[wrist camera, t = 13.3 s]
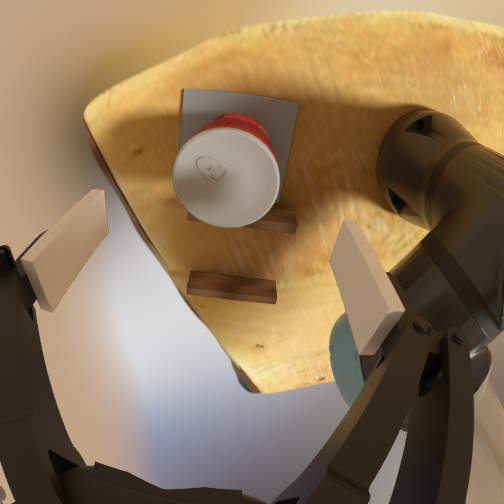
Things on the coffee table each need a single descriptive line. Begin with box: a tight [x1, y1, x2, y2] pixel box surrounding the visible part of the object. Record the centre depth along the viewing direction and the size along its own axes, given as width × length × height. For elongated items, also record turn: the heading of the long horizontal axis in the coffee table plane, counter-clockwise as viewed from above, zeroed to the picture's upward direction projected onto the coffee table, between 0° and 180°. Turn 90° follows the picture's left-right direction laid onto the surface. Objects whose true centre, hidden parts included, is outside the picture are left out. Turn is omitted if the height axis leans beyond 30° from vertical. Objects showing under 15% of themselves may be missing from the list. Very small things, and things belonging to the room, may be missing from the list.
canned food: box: [172, 114, 280, 228], centre depth 24 cm, size 8×8×11 cm
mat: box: [179, 89, 299, 204], centre depth 28 cm, size 12×12×1 cm
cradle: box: [187, 207, 297, 304], centre depth 34 cm, size 12×12×4 cm
